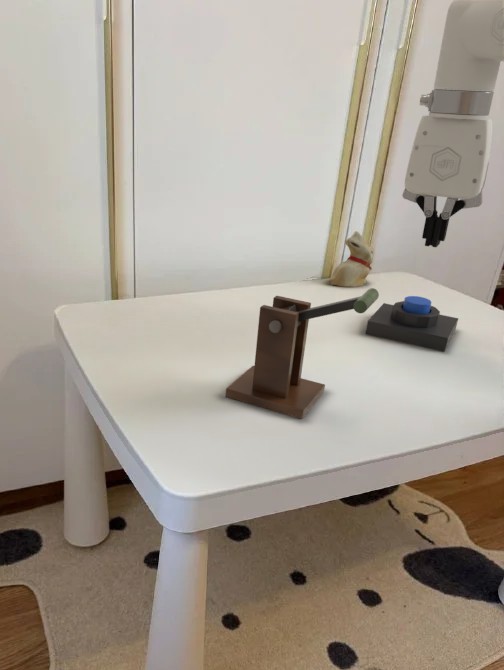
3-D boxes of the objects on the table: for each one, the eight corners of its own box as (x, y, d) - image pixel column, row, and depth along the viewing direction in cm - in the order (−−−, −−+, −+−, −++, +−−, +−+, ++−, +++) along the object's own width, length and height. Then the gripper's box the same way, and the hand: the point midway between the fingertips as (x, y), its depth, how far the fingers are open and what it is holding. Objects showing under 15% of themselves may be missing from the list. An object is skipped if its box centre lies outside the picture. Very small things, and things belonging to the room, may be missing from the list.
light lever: (381, 303, 70) (375, 282, 70) (369, 316, 66) (363, 294, 66) (284, 325, 77) (278, 306, 76) (268, 338, 73) (262, 318, 73)
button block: (455, 331, 102) (461, 307, 100) (444, 351, 94) (450, 326, 92) (381, 315, 106) (385, 292, 104) (365, 334, 98) (369, 309, 97)
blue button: (431, 309, 99) (433, 299, 98) (426, 317, 96) (428, 306, 95) (405, 304, 101) (407, 294, 100) (399, 311, 98) (402, 301, 97)
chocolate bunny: (371, 289, 119) (381, 235, 114) (329, 285, 119) (337, 232, 115) (368, 280, 124) (377, 228, 119) (327, 277, 124) (335, 225, 119)
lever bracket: (324, 392, 80) (338, 304, 74) (301, 419, 74) (315, 324, 68) (252, 373, 84) (260, 287, 78) (225, 396, 78) (232, 305, 72)
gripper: (396, 103, 84) (374, 242, 92) (518, 110, 78) (483, 258, 86) (409, 102, 90) (387, 233, 98) (523, 108, 83) (490, 247, 92)
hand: (432, 244), depth 92 cm, fingers closed
